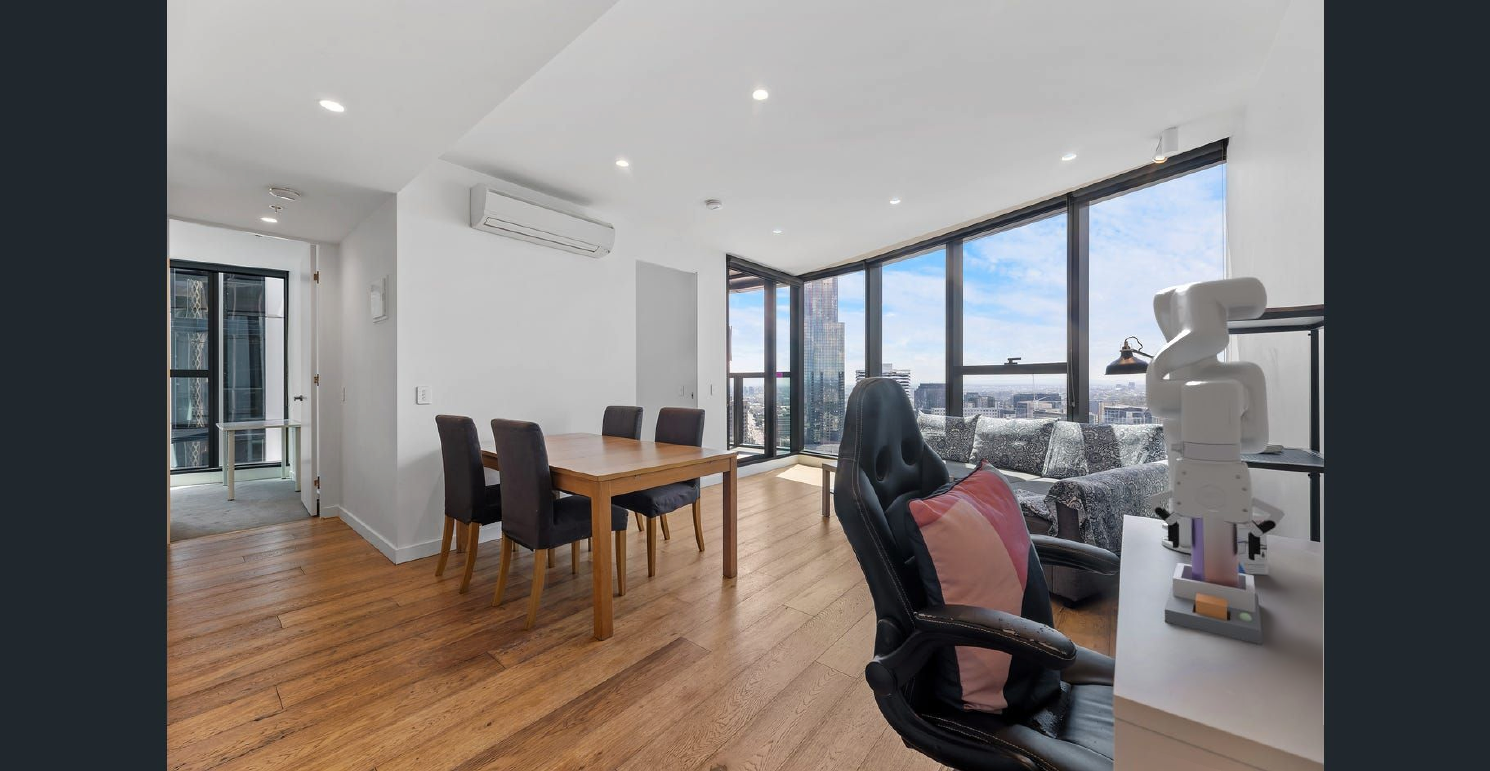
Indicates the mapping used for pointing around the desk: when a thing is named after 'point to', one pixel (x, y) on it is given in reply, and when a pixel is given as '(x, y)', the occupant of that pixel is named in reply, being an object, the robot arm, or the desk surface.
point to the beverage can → (1214, 550)
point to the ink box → (1243, 558)
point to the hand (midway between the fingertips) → (1212, 551)
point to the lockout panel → (1239, 601)
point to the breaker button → (1211, 606)
